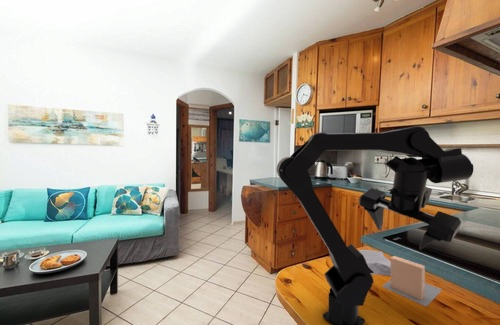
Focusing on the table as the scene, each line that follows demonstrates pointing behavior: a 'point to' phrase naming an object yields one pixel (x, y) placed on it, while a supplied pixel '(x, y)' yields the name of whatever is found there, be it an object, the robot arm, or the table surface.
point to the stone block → (377, 262)
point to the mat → (429, 296)
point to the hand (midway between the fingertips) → (399, 238)
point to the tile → (408, 277)
